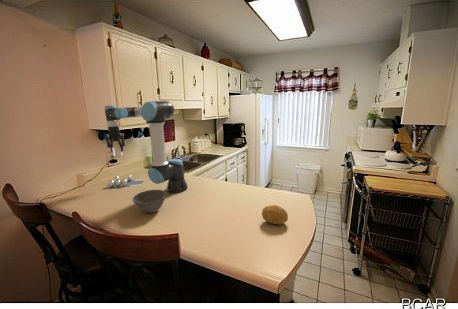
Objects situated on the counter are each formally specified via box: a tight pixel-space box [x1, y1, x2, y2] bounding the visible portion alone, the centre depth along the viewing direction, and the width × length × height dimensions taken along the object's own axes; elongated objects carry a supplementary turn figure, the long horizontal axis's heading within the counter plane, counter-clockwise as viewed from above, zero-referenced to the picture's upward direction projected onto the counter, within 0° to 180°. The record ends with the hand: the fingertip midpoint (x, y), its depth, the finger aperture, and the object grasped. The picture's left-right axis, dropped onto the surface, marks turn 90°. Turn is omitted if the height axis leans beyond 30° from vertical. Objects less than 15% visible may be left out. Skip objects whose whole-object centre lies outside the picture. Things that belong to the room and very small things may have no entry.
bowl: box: [132, 189, 167, 214], centre depth 130 cm, size 19×19×10 cm
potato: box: [261, 204, 289, 226], centre depth 112 cm, size 10×13×9 cm
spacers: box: [108, 174, 133, 189], centre depth 176 cm, size 13×14×5 cm
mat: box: [105, 179, 146, 189], centre depth 177 cm, size 27×15×1 cm, turn 96°
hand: (118, 155), depth 171 cm, fingers open, 5 cm apart
